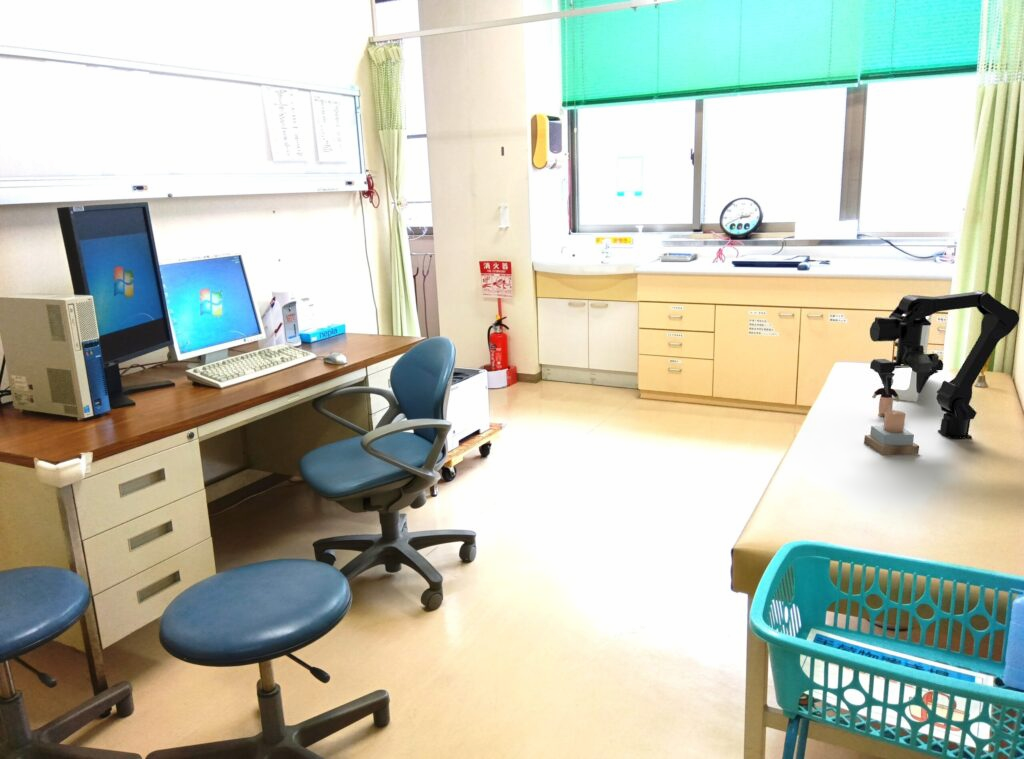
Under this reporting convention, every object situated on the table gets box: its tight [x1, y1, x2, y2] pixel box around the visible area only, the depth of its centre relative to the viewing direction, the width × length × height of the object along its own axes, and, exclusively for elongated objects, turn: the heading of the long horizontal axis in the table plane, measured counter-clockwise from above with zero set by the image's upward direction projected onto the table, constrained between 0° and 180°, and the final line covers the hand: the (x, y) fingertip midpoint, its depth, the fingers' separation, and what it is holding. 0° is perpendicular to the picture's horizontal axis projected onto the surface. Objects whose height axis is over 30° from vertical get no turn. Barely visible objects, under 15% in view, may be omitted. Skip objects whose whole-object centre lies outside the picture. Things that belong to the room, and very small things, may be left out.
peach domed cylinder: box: [883, 409, 906, 433], centre depth 209 cm, size 5×5×5 cm
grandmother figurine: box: [871, 377, 900, 417], centre depth 237 cm, size 8×4×13 cm, turn 71°
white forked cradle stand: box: [891, 314, 933, 403], centre depth 265 cm, size 35×8×28 cm, turn 149°
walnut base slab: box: [863, 434, 920, 457], centre depth 211 cm, size 10×10×3 cm
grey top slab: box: [869, 424, 915, 446], centre depth 210 cm, size 8×8×3 cm
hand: (903, 393), depth 217 cm, fingers open, 9 cm apart
